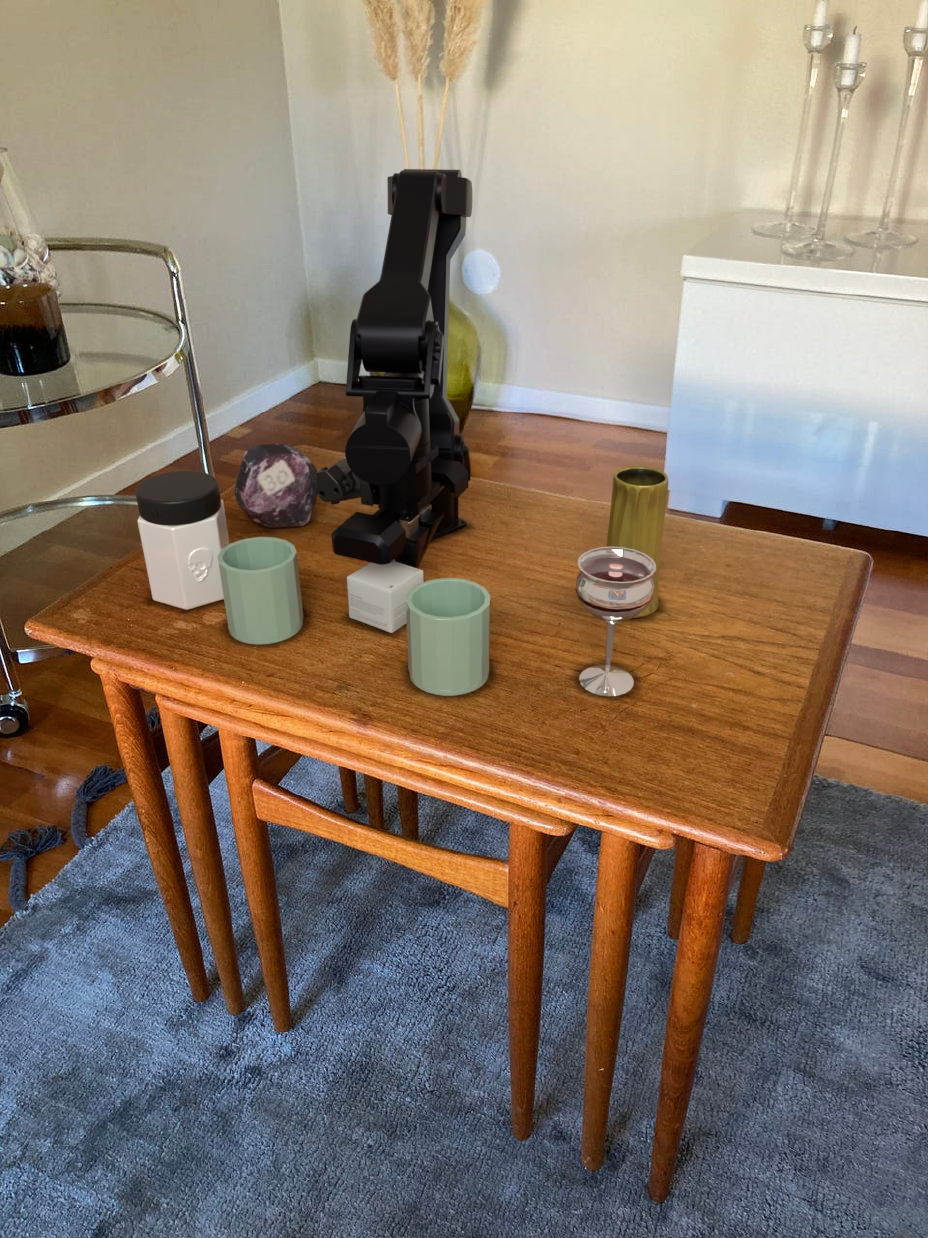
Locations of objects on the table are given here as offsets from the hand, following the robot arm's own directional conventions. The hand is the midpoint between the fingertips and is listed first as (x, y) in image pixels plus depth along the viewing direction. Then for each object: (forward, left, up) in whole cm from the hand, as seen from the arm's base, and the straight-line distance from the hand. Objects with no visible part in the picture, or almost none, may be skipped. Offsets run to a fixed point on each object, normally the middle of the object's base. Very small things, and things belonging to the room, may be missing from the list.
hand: (408, 579), depth 101 cm
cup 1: (+15, -4, -2) cm, 15 cm away
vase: (-16, +17, -2) cm, 23 cm away
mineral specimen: (+1, -24, -2) cm, 25 cm away
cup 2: (+6, +14, -2) cm, 16 cm away
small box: (+4, +2, -2) cm, 5 cm away
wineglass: (-4, +25, -2) cm, 25 cm away
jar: (+17, -15, -2) cm, 23 cm away
